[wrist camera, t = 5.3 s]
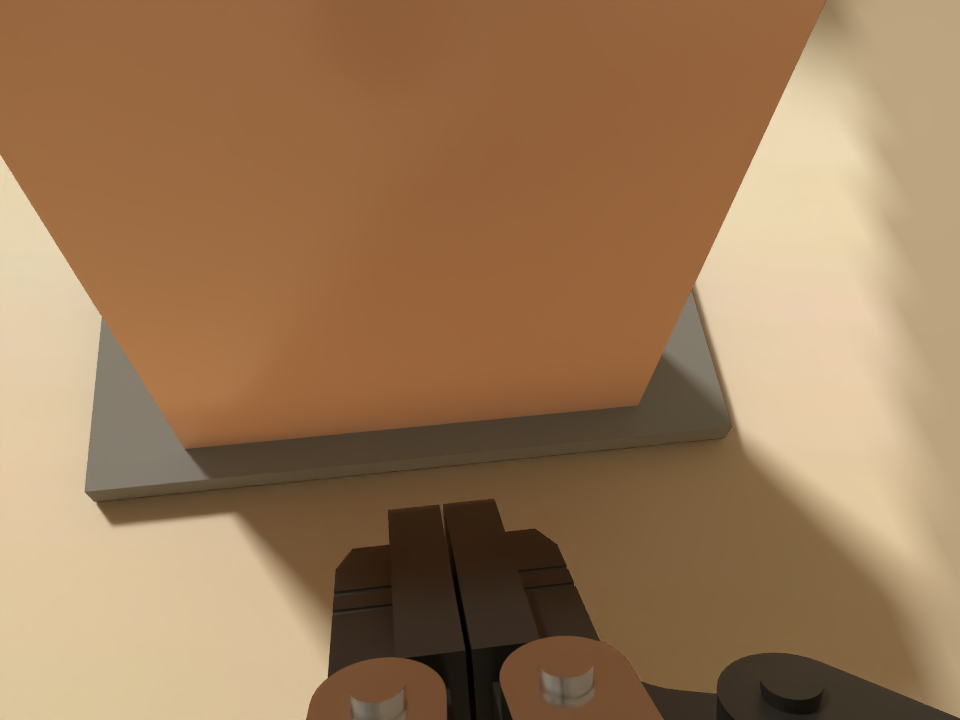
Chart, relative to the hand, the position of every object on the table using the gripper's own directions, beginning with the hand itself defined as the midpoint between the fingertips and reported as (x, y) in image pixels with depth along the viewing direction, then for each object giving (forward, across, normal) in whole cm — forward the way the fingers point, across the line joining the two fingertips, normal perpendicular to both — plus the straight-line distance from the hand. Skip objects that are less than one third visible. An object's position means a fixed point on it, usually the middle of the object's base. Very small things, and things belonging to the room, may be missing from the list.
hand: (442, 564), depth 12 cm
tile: (+8, 0, 0) cm, 8 cm away
